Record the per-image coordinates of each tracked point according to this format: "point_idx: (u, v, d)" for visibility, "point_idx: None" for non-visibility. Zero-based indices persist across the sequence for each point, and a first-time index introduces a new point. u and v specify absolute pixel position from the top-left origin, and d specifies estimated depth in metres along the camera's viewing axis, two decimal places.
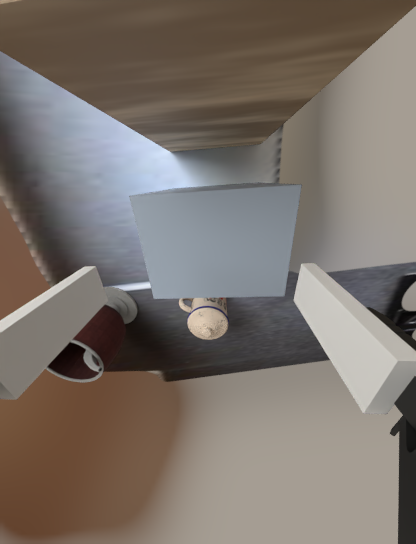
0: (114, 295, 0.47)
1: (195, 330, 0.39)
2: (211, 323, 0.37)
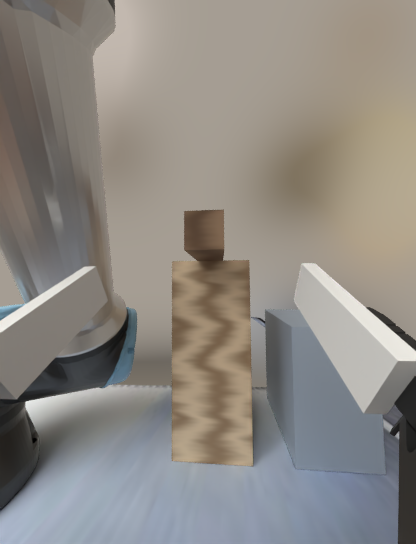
0: None
1: None
2: None
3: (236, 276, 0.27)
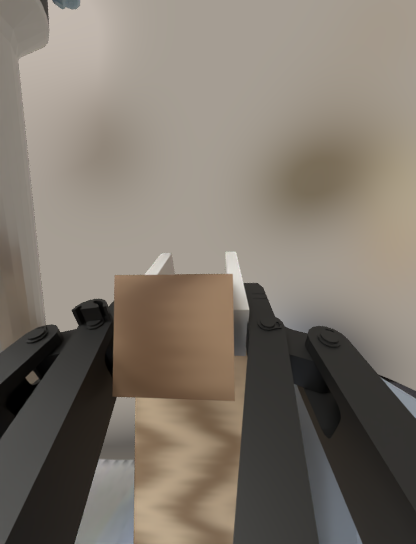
0: None
1: None
2: None
3: None
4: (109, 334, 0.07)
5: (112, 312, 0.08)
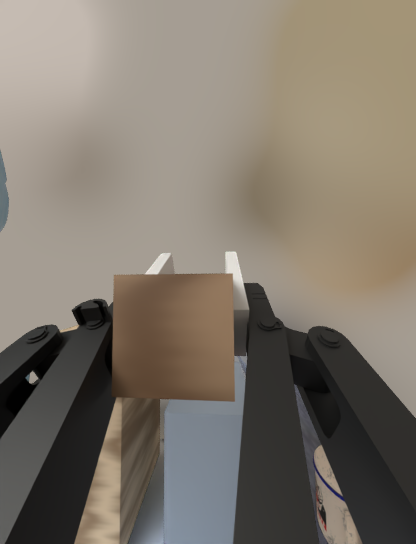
0: None
1: None
2: None
3: None
4: (109, 334, 0.07)
5: (112, 312, 0.08)
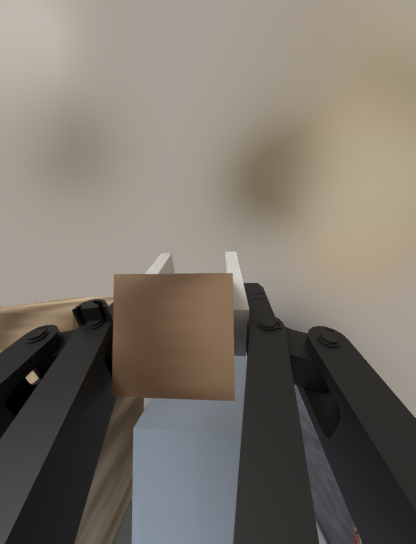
0: None
1: None
2: None
3: None
4: (109, 334, 0.07)
5: (112, 311, 0.08)
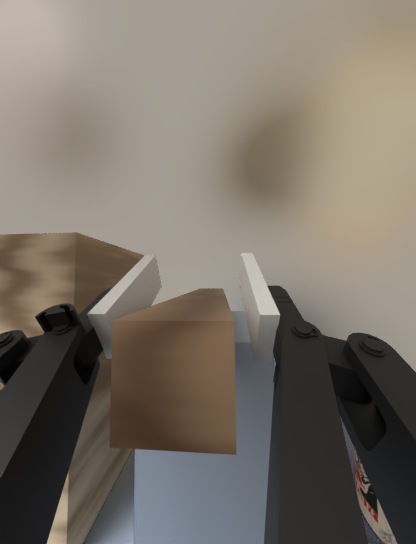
0: None
1: None
2: None
3: (56, 259, 0.17)
4: (78, 338, 0.07)
5: (85, 316, 0.08)
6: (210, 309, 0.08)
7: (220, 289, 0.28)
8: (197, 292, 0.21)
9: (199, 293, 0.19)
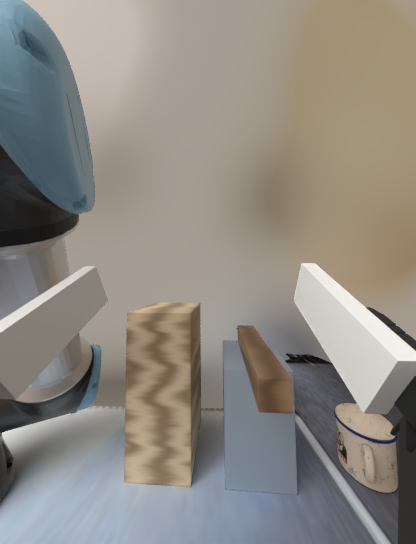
0: None
1: (379, 425, 0.32)
2: (350, 407, 0.36)
3: (180, 327, 0.33)
4: None
5: None
6: (278, 369, 0.24)
7: (253, 329, 0.44)
8: (247, 338, 0.37)
9: (251, 341, 0.35)
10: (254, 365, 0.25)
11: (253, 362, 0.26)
